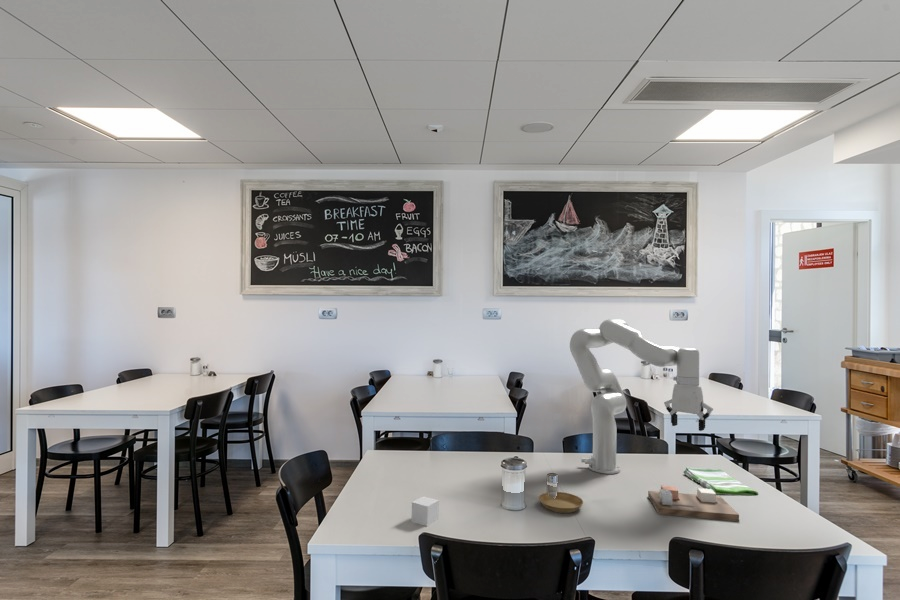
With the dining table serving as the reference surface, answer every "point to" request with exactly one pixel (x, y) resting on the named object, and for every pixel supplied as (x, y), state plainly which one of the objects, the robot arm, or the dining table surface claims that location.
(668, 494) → the slider knob
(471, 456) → the dining table surface
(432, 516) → the white cube
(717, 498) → the switch board
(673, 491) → the terracotta button
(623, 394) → the robot arm
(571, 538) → the dining table surface
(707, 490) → the cream button
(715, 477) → the dish towel
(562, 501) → the plant saucer
